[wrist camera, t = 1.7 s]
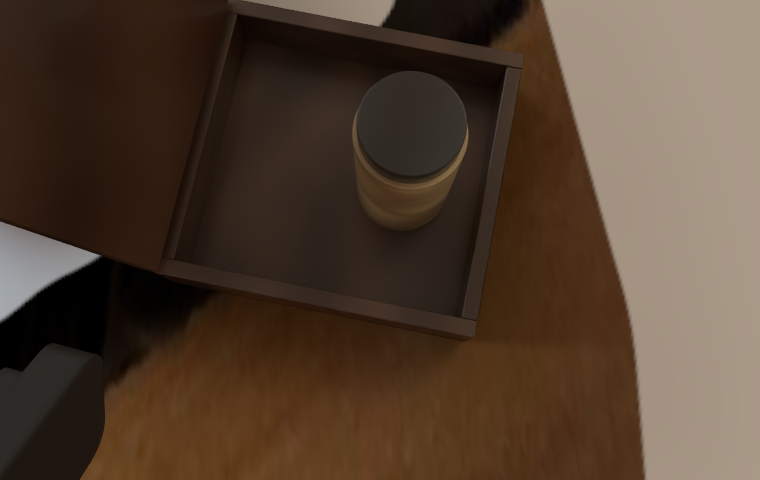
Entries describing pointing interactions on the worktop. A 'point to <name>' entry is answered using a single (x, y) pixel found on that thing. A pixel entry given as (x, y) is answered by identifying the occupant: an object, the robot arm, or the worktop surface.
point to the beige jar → (408, 148)
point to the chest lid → (101, 117)
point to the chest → (333, 174)
